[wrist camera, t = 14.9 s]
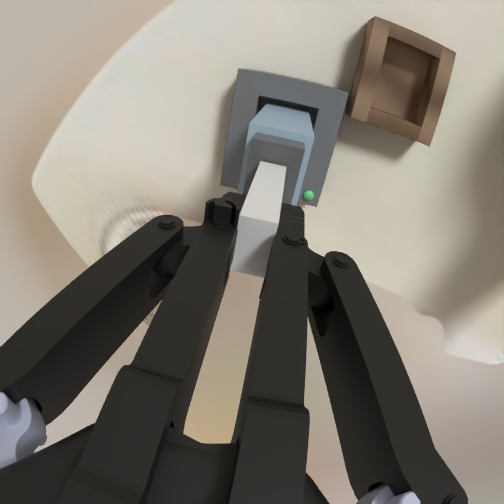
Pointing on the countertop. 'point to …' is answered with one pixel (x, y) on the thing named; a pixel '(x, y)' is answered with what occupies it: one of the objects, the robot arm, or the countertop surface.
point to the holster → (400, 81)
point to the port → (291, 94)
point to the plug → (279, 147)
